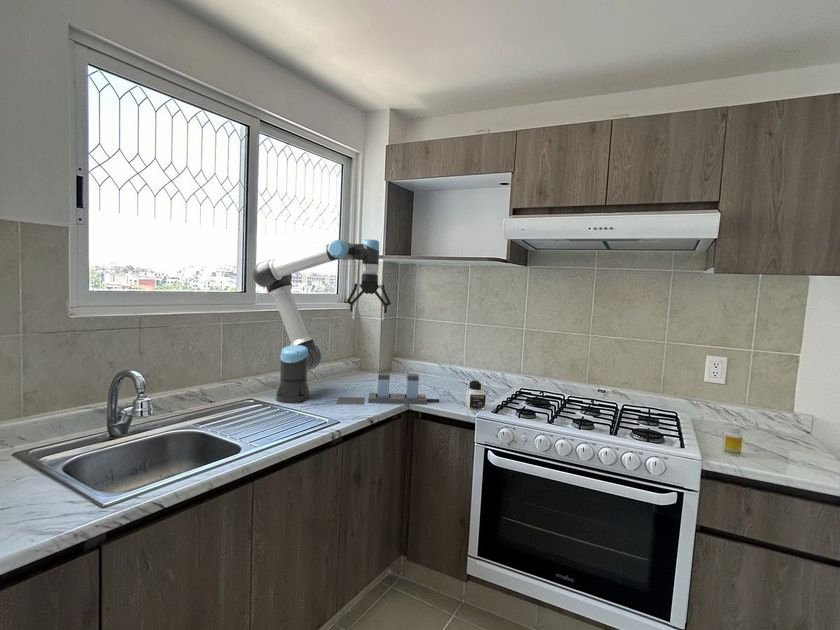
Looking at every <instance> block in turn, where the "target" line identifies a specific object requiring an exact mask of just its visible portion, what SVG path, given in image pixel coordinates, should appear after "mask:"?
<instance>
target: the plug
mask: <svg viewBox="0 0 840 630" xmlns="http://www.w3.org/2000/svg"><path fill="white" fill-rule="evenodd" d="M390 375H391V373H388V372H378V377H377V379H378V381H377V393H378V398H389V393H390V379H391V378H390V377H391V376H390Z"/></svg>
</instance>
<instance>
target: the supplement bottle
mask: <svg viewBox="0 0 840 630" xmlns="http://www.w3.org/2000/svg"><path fill="white" fill-rule="evenodd" d="M741 432H742V427H740V426H737V425H731V424H729V425H727V426H726V431H724V432H723V433H724V434H723V441H722V452H723V453H724V454H726V455H729V456H733V457H734V456H735V457H739V456H741V455H742V454H741V453H742V447H743V446H742V445H743V438H744V437H743V434H742V433H741Z"/></svg>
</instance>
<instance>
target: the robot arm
mask: <svg viewBox="0 0 840 630" xmlns="http://www.w3.org/2000/svg"><path fill="white" fill-rule="evenodd" d="M338 260H343V261H361V262H362V263H361V273H362V274H361V283H359V284H358V283H354V285H353V288H352V291H351V293H350V295H349V296H348V298H347V300H346V304H349V305H350V306H349V307H350V312H352V320H355V319H356V318H355V317H356V316H355V313H356V304H355V303H356V302H357V301H358V299H360V297H361V296H363V294H367V295H368V294H370V295H376V297H377V299H379V301H380V302H381V303H382V305H383V306H382V311H381V312H382V314H381V317H382V318H381V321H384V319H385V314H387V309H388V308H387V307H388V306H390V305H391V304H392V303H391V301H390V299H389V295H388V294H387V291H386V289H385V284H379V263H380V262H379V261H380V241H379V240H377V239H370V238H369V239H368V238H367V239H363V241H362V243H350V242H347V241H344V240H342V239H334V240H332V241H330V243H328V244H325V245H322V246H319V247H314V248H312V249H308V250H306V251H302V252H299V253H296V254H292V255H289V256H286V257H283V258H280V259H277V260H276V259H274V258H273V259H269V260H265V261H262V262H259V263H257V264H256V265H255V266H254V268H253V269H252V274H251V275H252V279H253V281H254V282H255V284H256V285H258V286H260V287H262V288H266V290H267V293H268V295H269V296H272V297H273V300H274V302H275V305H276V307H277V309H278V313H279V315H280V317H281V320H282V323H283V325H284V328H285V330H286V333H287V337H288V338H289V341H290V345H287V346H285V347H283V348H282V349H281V352H280V356H279V357H280V375H279V379H280V380H279V383H278V386H277V389H276V392H275V400H276V401H277V402H280V403H288V404H292V403H293V404H294V403H295V404H296V403H304V402H305V401H309V400H310V399H311V391H310V388H309V384H308V371H309V372H310V371H311V370H314V369H316V368H317V367H318V366H319V365H320V364H321V362H322V361H323V352H322V349H321V348H320V346H319V345H316V343H315V340H314V338H312V337H310V336H309V334H308V331H307V329H306V327H305V324H304V321H303V319H302V316H301V313H300V311H299V308H298V306H297V303H296V301H295V299H294V295H293V292H292V289H293V283H292V278H293V274H295V273H298V272H302V271H306V270H309V269H311V268H314V267H317V266H320V265H324V264H327V263H331V262H334V261H338ZM359 288H360V289H361V291H360V292H359V293H358V294H357V295H356V297H354V295H355V293H356V292H357V290H358V289H359ZM379 288H380V290H381V291H382V293H383V296H384V298H385V299H386V301H385V300H384V298H382V296H381V295H380V293H379V292H378V291H377V290H379ZM353 297H354V299H353ZM352 299H353V300H352Z"/></svg>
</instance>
